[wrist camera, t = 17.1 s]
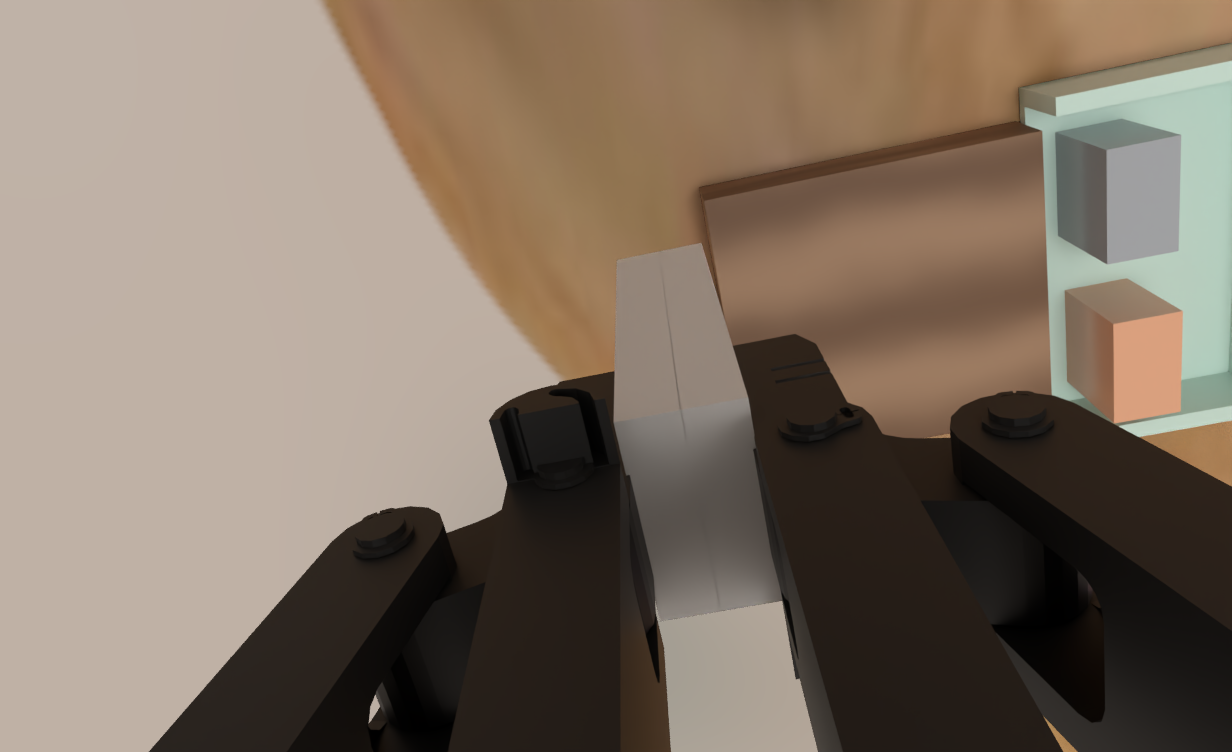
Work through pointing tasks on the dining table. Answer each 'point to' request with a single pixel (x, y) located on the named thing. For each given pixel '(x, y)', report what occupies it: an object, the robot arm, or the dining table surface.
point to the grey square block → (1119, 189)
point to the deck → (897, 270)
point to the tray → (1208, 217)
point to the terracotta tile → (1124, 349)
